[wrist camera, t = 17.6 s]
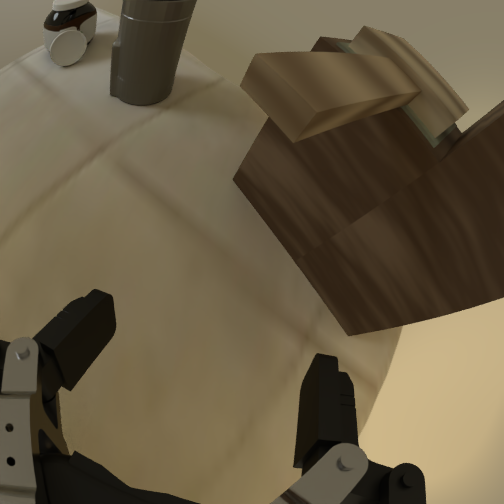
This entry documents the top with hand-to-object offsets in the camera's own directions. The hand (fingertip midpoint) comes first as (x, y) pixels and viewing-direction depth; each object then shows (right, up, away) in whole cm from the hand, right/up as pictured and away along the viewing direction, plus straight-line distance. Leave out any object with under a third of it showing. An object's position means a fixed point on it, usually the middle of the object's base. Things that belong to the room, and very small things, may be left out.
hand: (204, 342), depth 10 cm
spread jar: (-32, +40, +24) cm, 57 cm away
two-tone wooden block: (+12, +6, +29) cm, 31 cm away
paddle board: (+11, +15, +6) cm, 19 cm away
